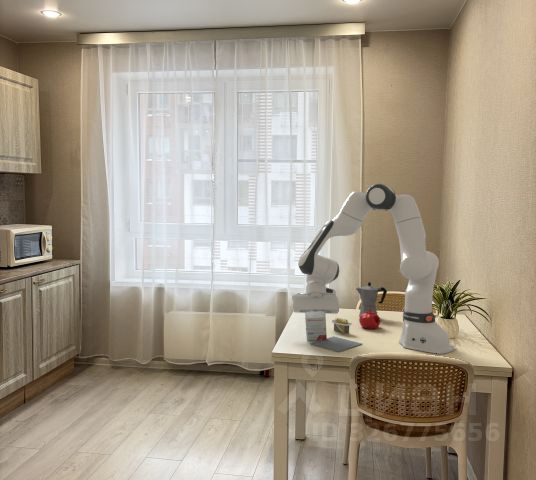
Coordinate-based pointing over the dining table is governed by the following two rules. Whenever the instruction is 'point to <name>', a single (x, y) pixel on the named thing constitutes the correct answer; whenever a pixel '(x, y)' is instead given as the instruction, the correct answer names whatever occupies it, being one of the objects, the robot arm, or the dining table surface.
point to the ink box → (316, 325)
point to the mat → (336, 344)
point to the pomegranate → (369, 320)
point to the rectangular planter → (341, 325)
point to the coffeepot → (370, 297)
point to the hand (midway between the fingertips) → (315, 320)
